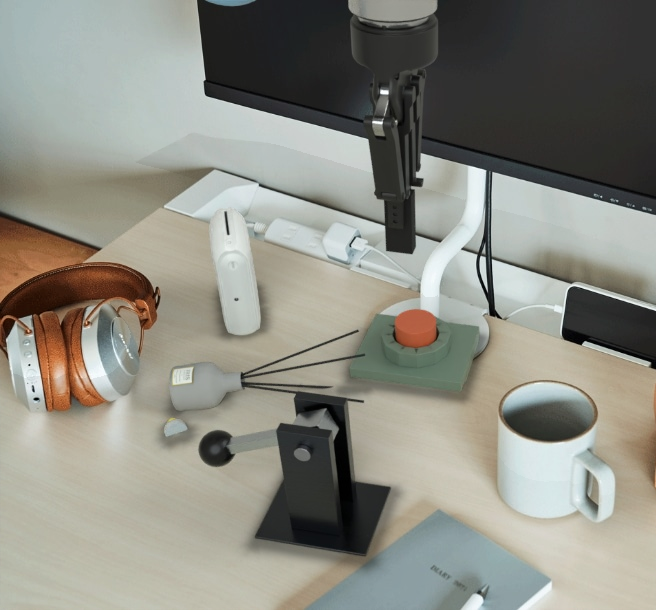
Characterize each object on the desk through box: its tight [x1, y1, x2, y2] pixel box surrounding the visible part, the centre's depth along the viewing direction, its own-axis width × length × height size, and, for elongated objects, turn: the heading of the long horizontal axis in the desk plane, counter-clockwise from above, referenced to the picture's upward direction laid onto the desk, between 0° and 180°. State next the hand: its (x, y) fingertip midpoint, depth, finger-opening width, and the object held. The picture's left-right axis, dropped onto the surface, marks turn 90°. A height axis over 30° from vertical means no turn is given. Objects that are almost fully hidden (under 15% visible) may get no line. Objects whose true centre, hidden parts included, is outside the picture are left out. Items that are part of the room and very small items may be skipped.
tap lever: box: [197, 408, 339, 468], centre depth 78 cm, size 13×3×3 cm, turn 79°
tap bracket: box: [254, 390, 392, 557], centre depth 79 cm, size 10×8×13 cm
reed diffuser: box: [163, 329, 365, 437], centre depth 94 cm, size 10×7×20 cm
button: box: [395, 308, 436, 348], centre depth 99 cm, size 4×4×2 cm
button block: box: [349, 313, 480, 393], centre depth 100 cm, size 12×10×4 cm
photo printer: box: [208, 207, 262, 336], centre depth 105 cm, size 10×4×12 cm, turn 16°
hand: (401, 248), depth 92 cm, fingers closed
